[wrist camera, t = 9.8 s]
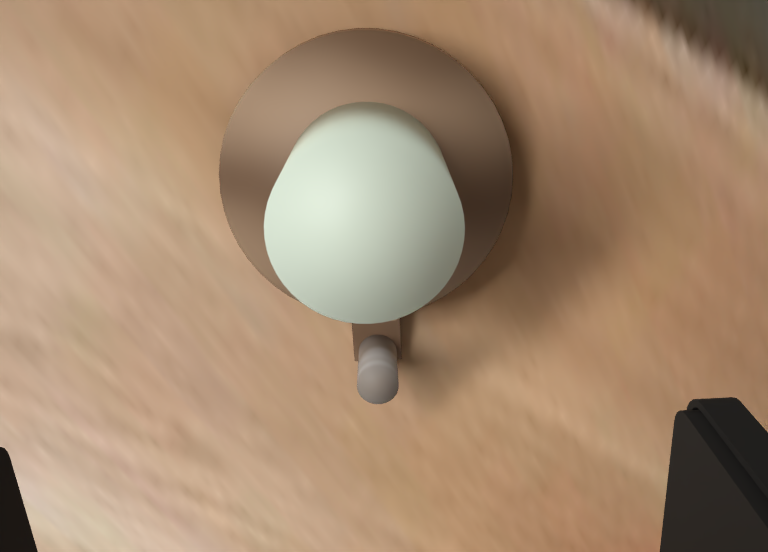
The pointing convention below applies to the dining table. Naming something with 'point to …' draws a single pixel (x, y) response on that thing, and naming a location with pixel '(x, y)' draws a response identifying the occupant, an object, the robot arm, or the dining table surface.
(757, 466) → the robot arm
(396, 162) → the pale green rounded cylinder
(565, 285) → the dining table surface
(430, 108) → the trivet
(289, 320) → the dining table surface
